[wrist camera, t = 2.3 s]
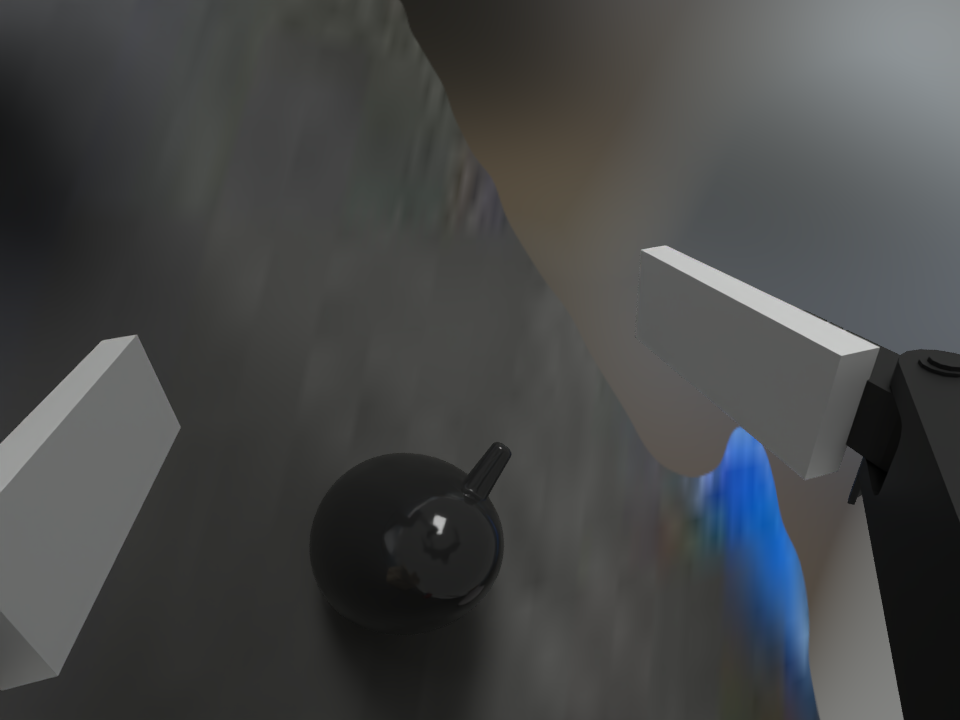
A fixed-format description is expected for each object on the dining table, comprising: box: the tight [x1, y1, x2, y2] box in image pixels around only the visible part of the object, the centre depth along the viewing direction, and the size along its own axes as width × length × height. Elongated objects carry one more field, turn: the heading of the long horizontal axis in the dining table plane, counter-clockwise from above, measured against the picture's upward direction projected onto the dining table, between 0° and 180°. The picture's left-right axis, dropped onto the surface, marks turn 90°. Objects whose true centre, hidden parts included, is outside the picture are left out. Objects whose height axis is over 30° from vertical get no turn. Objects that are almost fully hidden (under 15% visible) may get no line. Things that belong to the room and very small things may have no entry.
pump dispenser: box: [310, 442, 511, 635], centre depth 28 cm, size 10×10×15 cm
